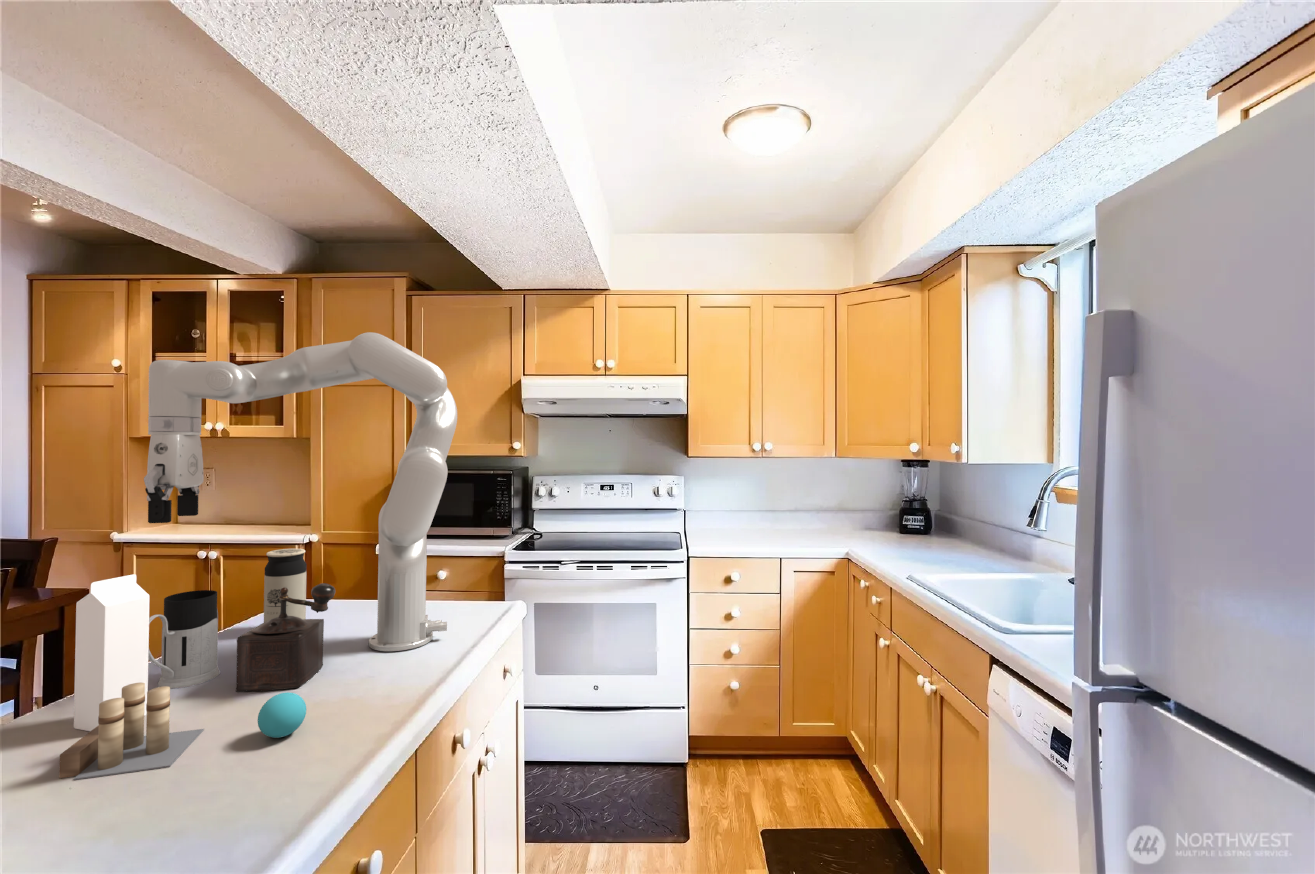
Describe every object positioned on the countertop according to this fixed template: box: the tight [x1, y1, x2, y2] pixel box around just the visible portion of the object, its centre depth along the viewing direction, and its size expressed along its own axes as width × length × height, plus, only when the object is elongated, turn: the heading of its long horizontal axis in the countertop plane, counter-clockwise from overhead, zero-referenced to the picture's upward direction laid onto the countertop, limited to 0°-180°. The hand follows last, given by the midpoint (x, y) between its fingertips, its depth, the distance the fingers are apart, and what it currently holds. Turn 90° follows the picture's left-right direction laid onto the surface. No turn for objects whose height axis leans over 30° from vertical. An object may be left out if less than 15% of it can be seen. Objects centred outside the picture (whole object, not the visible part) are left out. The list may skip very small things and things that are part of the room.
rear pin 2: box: [122, 683, 145, 750], centre depth 80 cm, size 2×2×8 cm
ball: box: [257, 692, 307, 739], centre depth 83 cm, size 6×6×6 cm
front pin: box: [145, 686, 171, 755], centre depth 78 cm, size 2×2×8 cm
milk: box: [73, 573, 150, 732], centre depth 87 cm, size 6×6×22 cm
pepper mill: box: [235, 582, 336, 693], centre depth 103 cm, size 16×11×18 cm
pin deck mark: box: [73, 728, 205, 781], centre depth 78 cm, size 10×10×1 cm
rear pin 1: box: [98, 698, 124, 770], centre depth 75 cm, size 2×2×8 cm
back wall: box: [58, 725, 99, 779], centre depth 77 cm, size 2×9×3 cm, turn 18°
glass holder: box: [148, 589, 221, 690], centre depth 100 cm, size 9×14×15 cm, turn 2°
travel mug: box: [263, 548, 307, 623], centre depth 128 cm, size 8×8×18 cm
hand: (174, 519), depth 105 cm, fingers open, 9 cm apart
